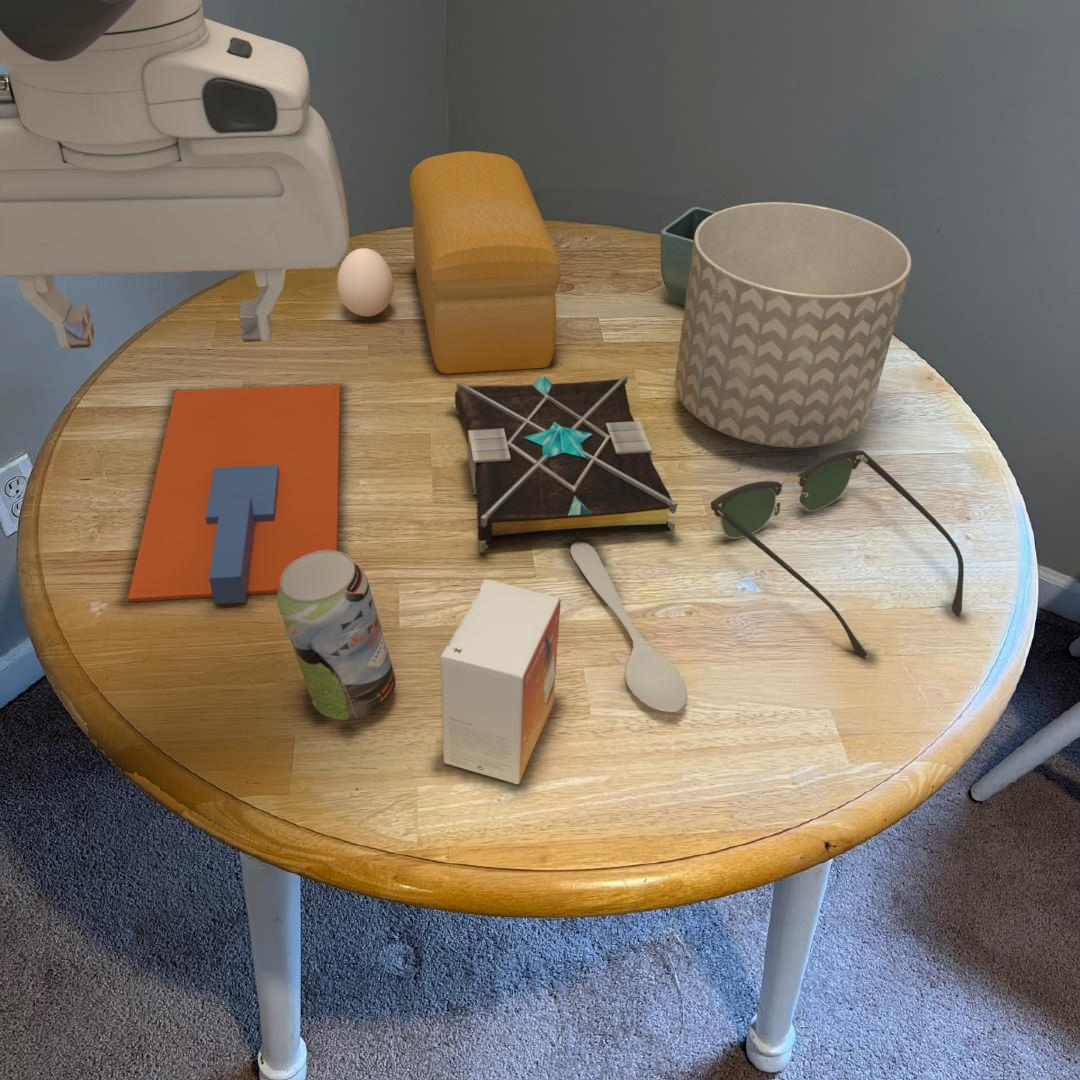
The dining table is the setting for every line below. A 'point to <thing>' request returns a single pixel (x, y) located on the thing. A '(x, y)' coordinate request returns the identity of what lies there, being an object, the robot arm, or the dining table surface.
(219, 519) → the blue stepped bar
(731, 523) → the sunglasses
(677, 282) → the flower pot
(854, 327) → the planter
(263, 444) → the flat orange board
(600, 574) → the spoon
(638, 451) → the book
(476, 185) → the bread
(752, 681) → the dining table surface
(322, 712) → the beverage can
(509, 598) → the small box
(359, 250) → the egg
